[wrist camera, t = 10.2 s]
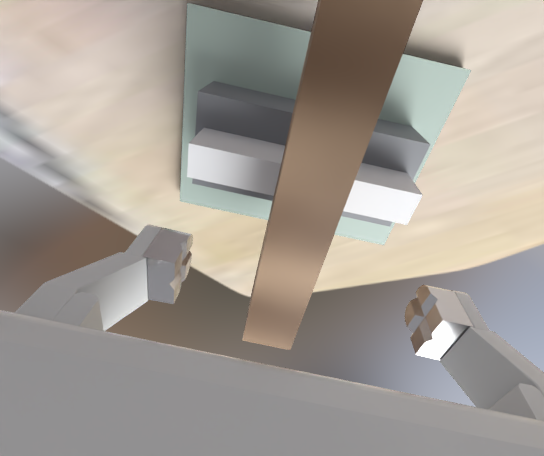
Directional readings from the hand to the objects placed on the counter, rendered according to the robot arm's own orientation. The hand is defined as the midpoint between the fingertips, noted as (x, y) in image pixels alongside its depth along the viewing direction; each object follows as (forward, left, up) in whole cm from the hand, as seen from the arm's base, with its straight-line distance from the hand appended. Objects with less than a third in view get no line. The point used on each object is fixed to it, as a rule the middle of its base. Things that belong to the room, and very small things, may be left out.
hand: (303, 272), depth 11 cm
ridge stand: (0, 0, -16) cm, 16 cm away
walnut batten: (0, 0, -8) cm, 8 cm away
